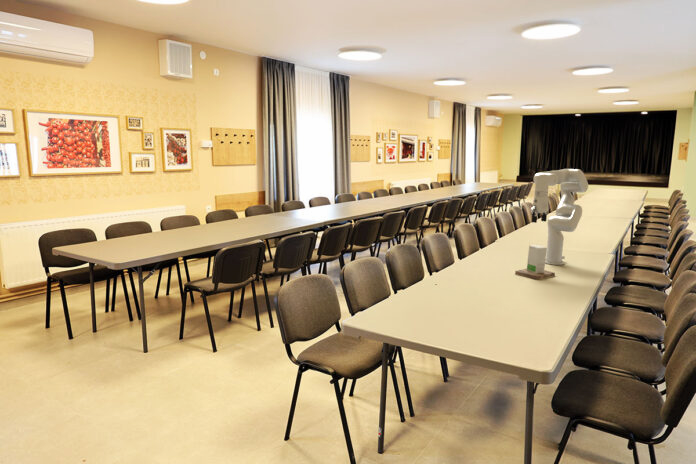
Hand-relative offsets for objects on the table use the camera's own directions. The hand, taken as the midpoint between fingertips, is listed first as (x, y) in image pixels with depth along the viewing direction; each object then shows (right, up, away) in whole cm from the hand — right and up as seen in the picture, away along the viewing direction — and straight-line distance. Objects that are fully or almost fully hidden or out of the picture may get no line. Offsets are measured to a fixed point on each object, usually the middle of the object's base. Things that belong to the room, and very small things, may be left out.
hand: (538, 221), depth 283 cm
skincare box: (-6, -30, -8) cm, 32 cm away
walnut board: (-6, -32, -9) cm, 34 cm away
